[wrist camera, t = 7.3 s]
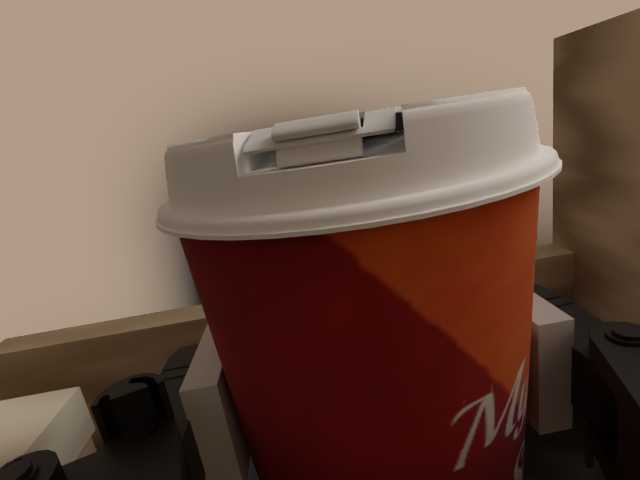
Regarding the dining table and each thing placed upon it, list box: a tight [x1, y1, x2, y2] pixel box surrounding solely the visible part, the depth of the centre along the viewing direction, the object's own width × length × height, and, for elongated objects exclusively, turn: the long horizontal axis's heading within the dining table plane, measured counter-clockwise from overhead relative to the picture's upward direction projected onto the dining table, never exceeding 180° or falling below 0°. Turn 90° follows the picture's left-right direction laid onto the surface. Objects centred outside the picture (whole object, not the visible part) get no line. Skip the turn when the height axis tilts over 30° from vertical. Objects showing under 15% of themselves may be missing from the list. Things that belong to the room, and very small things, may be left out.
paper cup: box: [156, 87, 562, 480], centre depth 10 cm, size 8×8×14 cm
